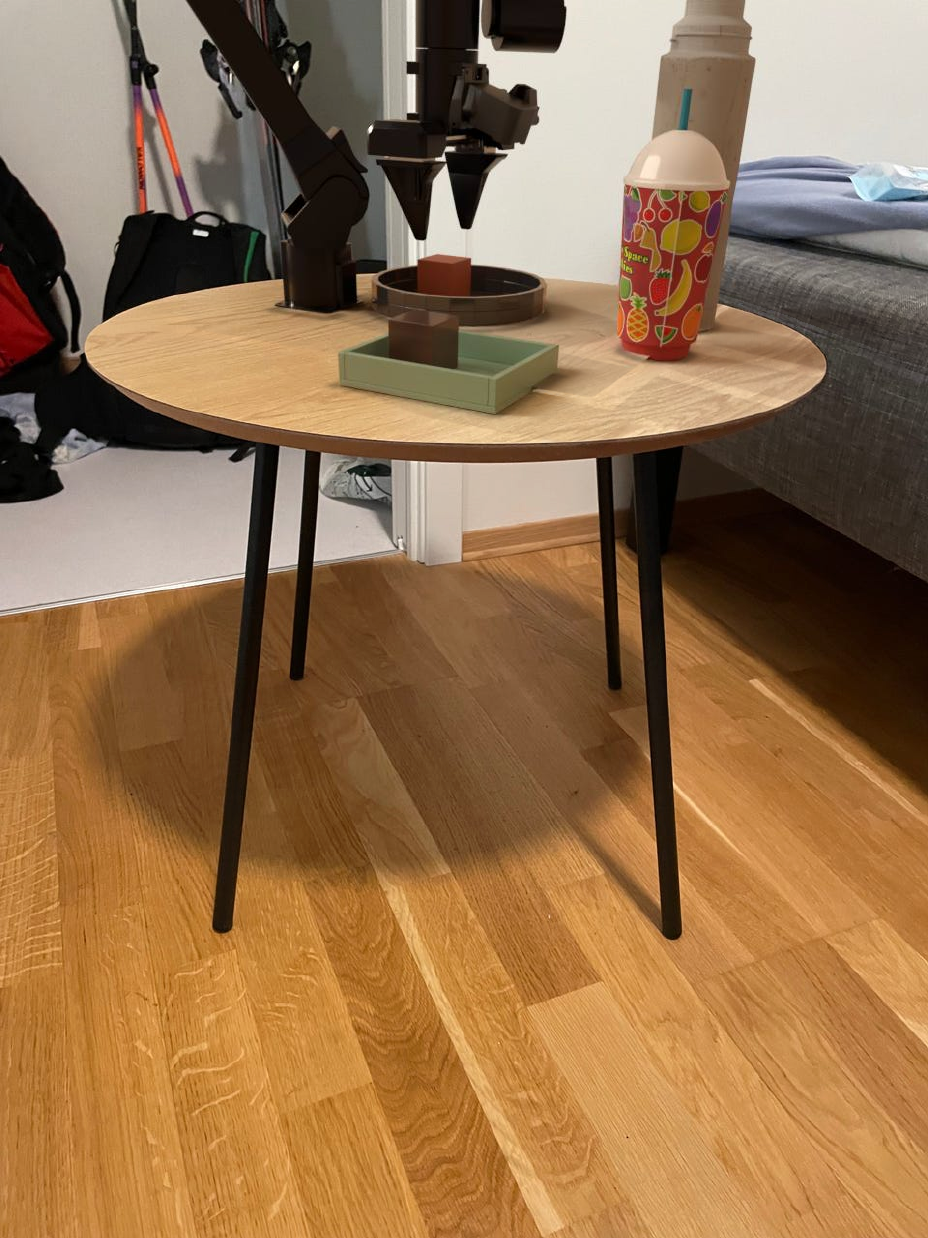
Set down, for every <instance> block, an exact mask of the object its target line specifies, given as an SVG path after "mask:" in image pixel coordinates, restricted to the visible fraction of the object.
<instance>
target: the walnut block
mask: <svg viewBox="0 0 928 1238" xmlns="http://www.w3.org/2000/svg"><path fill="white" fill-rule="evenodd" d="M387 320H388V321H387V328H388V329H387V333H388V340H389V359H395V360H401V361H407V362H413V363H418V364H424V365H430V366H436V367H442V368H448V369H455V368H457V367H458V338H459V330H460V326H459V316H457V315H450V314H443V313H436V312H429V311H423V310H416V309H415V310H412V311H409V312H406V313H404V314H401V315H398V316H395V317H393V318H391V317H389V318H387Z"/></svg>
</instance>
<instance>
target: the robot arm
mask: <svg viewBox="0 0 928 1238" xmlns="http://www.w3.org/2000/svg"><path fill="white" fill-rule="evenodd" d="M184 1H185V2H186V3H187V5H188V7H189V8H190V10H191V11H192V13H193V14H194V16H195V17H196V19H197V20H198V22H199V24H200V25H201V26H202V28H203V30H204V31H205V33H206V35H207V36H208V37H209V38H210V40H211V41H212V43H213V45H214V46H215V48H216V50H217V51H218V53H219V54H220V55H221V57H222V58H223V60H224V61H225V63H226V64H227V66H228V67H229V69H230V71H231V72H232V74H233V75H234V77H235V79H236V80H237V81H238V83H239V84H240V86H241V87H242V89H243V90H244V92H245V94H246V95H247V97H248V98H249V100H250V102H251V103H252V104H253V106H254V107H255V108H256V110H257V112H258V114H259V115H260V117H261V118H262V119H263V121H264V122H265V124H266V126H267V127H268V128H269V130H270V131H271V133H272V134H273V136H274V137H275V140H276V142H277V144H278V146H279V149H280V151H281V153H282V155H283V157H284V160H285V162H286V165H287V166H288V169H289V171H290V174H291V176H292V178H293V180H294V182H295V184H296V186H297V189H298V191H299V193H298V194H297V195H296V197H294V199H293V200H292V201H291V202H290V203H289V204H288V205H287V207H285V209H284V210H283V211H282V212H281V214H280V217H281V220H282V223H283V226H284V227H285V230H286V232H287V235H288V236H289V237H290V238H288V239H283V240H280V242H279V244H280V256H281V257H280V258H281V270H282V271H281V272H282V286H283V300H282V301H279V302H276V303H274V307H279V308H284V309H291V310H297V311H304V312H310V313H311V312H312V313H318V314H323V315H327V314H333V313H335V312H336V313H337V312H338V311H342V310H344V309H345V310H346V309H348V308H350V307H355V306H357V305H360V304H363V302H364V301H363V300H362V299H358V286H357V285H358V282H357V262H356V260H355V259H353V243H352V242H348V241H349V237H350V234H351V231H352V227H354V226H357V224H358V223H360V222H361V220H362V219H363V218H364V217H365V215H366V213H367V211H368V208H369V203H370V196H371V194H370V188H369V186H368V183H367V181H366V179H365V177H364V176H363V175H362V174H367V173H368V172H369V169H368V168H367V167H366V166H365V165H363V164H362V163H361V162H360V161H359V160H358V159H357V157H356V155H355V154H354V152H353V150H352V148H351V145H350V143H349V140H348V138H347V135H346V134H345V131H344V130H343V129H341V128H340V127H337V126H336V125H333V126H331V127H330V129H329V130H328V131H326V132H324V130H323V129H322V128H321V127H320V126H319V125H318V123H316V121H315V120H314V119H313V118H312V117H311V116H310V114H309V112H308V111H307V109H306V108H305V106H304V104H303V103H302V101H301V100H300V98H299V96H298V95H297V94H296V92H295V90H294V88H293V87H292V85H291V84H290V82H289V81H288V79H287V78H286V75H285V74H284V73H283V71H282V69H281V68H280V67H279V64H278V63H277V61H276V60H275V58H274V57H273V55H272V53H271V52H270V50H269V49H268V47H267V45H266V43H265V42H264V41H263V39H262V37H261V36H260V35H259V33H258V31H257V30H256V28H255V27H254V25H253V23H252V21H251V20H250V18H249V17H248V15H247V14H246V12H245V11H244V9H243V8H242V5H241V4H240V2H239V1H238V0H184ZM567 9H568V8H567V6H566V5H565V0H482V1H481V0H415V61H414V60H413V61H411V60H409V61H406V62H405V63H406V65H405V66H406V67H405V68H406V71H405V73H406V75H415V105H414V106H415V107H414V108H415V111H414V112H406V119H397V118H394V119H393V118H392V119H374V121H373V123H372V124H371V125H370V127H369V128H368V129H367V130H366V146H367V147H366V148H367V151H366V152H367V155H368V156H376V157H377V158H375V164H376V166H379V167H381V169H382V172H383V173H384V175H385V177H386V179H387V181H388V183H389V185H390V186H391V189H392V191H393V192H394V195H395V197H396V199H397V201H398V203H399V205H400V208H401V211H402V212H403V215H404V217H405V219H406V222H407V224H408V226H409V229H410V231H411V234H412V235H413V238H414V240H416V241H420V242H421V241H424V242H425V241H426V240H427V238H428V233H429V227H430V216H431V206H432V198H433V197H432V196H433V187H434V181H435V178H437V176H438V175H439V174H440V172H441V171H442V170H443V168H444V167H445V166H446V168H447V173H448V178H449V182H450V187H451V193H452V198H453V203H454V206H455V207H454V208H455V211H456V216H457V220H458V224H459V226H460V229H461V230H471V229H472V228H473V224H474V222H475V218H476V215H477V211H478V208H479V205H480V202H481V198H482V195H483V191H484V188H485V186H486V184H487V180H488V177H489V174H490V173H491V171H492V170H493V169H494V168H496V167H497V166H498V165H499V164H500V163H501V162H502V161H503V160H506V158H507V157H508V155H509V154H508V153H505V152H504V153H503V152H497V150H498V151H509V150H515V145H516V144H519V145H525V144H526V142H527V139H528V136H529V133H530V130H531V127H533V126H537V125H538V124H539V123H540V117H539V111H540V106H539V105H538V90H537V89H536V88H533V87H531V86H530V85H528V84H526V83H516V84H514V86H513V87H512V88H511V89H510V90H509V92H508V89H505V88H499V87H497V86H495V85H493V84H491V83H490V69H489V68H488V67H487V66H488V65H487V63H479V49H480V48H479V47H480V27H481V33H482V36H483V38H485V39H490V42H491V45H492V46H491V47H492V48H493V50H494V51H495V52H511V53H512V52H513V53H536V54H539V53H540V54H555V53H557V52H558V50H559V49H560V47H561V44H562V42H563V38H564V34H565V29H566V21H567ZM449 147H450V148H454V149H453V150H446V149H447V148H449ZM445 150H446V151H445ZM443 155H444V159H445V160H436V159H439V158H442V157H443ZM378 157H379V158H378Z"/></svg>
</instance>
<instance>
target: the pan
mask: <svg viewBox="0 0 928 1238" xmlns="http://www.w3.org/2000/svg"><path fill="white" fill-rule="evenodd" d="M547 288H548V283H547V281H546V279H545V278H543V277H542V276H539V275H538V274H535V273H531V272H528V271H525V270H520V269H516V268H509V267H503V266H494V265H486V264H483V265H482V264H473V263H471V285H470V297H456V296H438V295H427V294H419V293H418V264H414V265H404V266H399V267H398V266H397V267H392V268H388V269H385V270H381V271H378V272H376V273H375V274H373V275H372V277H371V307H372V308H373V309H374V311H375V312H377V313H378V314H380V315H383V316H386V317H388V318H393V317H395V316H398V315H401V314H404V313H406V312H409V311H412V310H415V309H416V310H423V311H429V312H436V313H443V314H450V315H457V316H459V327H494V326H504V325H512V324H517V323H522V322H528V321H530V320H531V321H532V320H533V319H536V318H538V317H540V316H542V314H544V312H545V311H546V307H547V305H546V303H547V290H548V289H547Z"/></svg>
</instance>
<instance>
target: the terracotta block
mask: <svg viewBox="0 0 928 1238" xmlns="http://www.w3.org/2000/svg"><path fill="white" fill-rule="evenodd" d="M471 264H472V257H466V256H458V255H450V254H449V255H448V254H440V253H436V254H432V255H429V256H425V257H422V258H418V259H417V265H418V293H419V294H427V295H438V296H456V297H470V285H471Z"/></svg>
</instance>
